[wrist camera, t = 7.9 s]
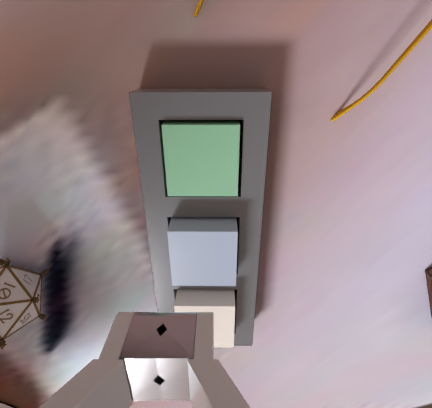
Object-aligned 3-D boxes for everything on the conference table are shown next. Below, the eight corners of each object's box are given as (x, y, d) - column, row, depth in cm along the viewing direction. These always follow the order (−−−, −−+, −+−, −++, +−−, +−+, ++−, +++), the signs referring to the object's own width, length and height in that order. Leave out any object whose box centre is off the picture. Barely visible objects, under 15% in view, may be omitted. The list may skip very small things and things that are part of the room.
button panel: (249, 324, 36) (252, 345, 34) (166, 324, 37) (161, 344, 34) (266, 88, 24) (271, 91, 21) (139, 88, 24) (128, 92, 21)
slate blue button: (234, 265, 30) (235, 286, 27) (176, 265, 30) (172, 285, 27) (236, 214, 27) (237, 231, 24) (172, 214, 27) (167, 231, 24)
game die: (32, 262, 37) (-64, 318, 31) (19, 223, 31) (-105, 283, 24) (75, 311, 35) (-18, 383, 28) (70, 280, 29) (-51, 363, 22)
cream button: (232, 324, 34) (233, 347, 31) (181, 324, 34) (177, 347, 31) (233, 285, 31) (235, 306, 28) (178, 284, 31) (174, 306, 28)
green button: (236, 182, 27) (237, 196, 25) (172, 182, 27) (167, 196, 25) (237, 117, 25) (240, 124, 22) (167, 117, 25) (161, 124, 22)
